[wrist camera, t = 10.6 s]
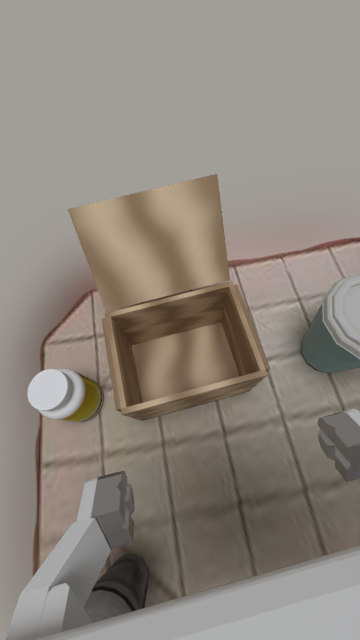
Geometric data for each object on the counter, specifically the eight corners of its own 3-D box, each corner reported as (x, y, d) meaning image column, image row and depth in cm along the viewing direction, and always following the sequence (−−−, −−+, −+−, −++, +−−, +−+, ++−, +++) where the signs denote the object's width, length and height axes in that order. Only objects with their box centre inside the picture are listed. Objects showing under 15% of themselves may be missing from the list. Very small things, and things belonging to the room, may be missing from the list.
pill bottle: (106, 379, 43) (77, 361, 33) (102, 421, 40) (71, 416, 30) (66, 380, 43) (26, 363, 33) (60, 423, 41) (15, 418, 30)
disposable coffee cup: (277, 366, 42) (317, 332, 28) (299, 307, 45) (343, 251, 32) (350, 398, 40) (431, 377, 26) (366, 333, 43) (446, 285, 29)
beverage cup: (148, 629, 31) (78, 904, 13) (89, 602, 33) (-50, 820, 14) (167, 553, 34) (133, 692, 16) (113, 531, 35) (21, 635, 17)
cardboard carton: (226, 318, 45) (235, 280, 34) (251, 390, 41) (272, 373, 30) (124, 344, 45) (101, 314, 34) (139, 421, 40) (117, 415, 29)
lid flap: (229, 279, 34) (227, 278, 35) (217, 174, 29) (215, 174, 29) (106, 311, 34) (106, 308, 34) (67, 209, 28) (69, 208, 29)
